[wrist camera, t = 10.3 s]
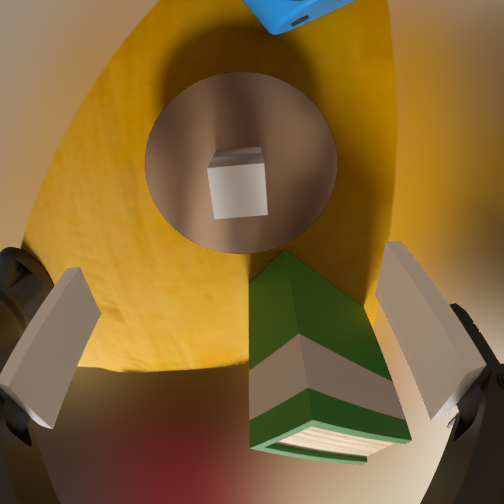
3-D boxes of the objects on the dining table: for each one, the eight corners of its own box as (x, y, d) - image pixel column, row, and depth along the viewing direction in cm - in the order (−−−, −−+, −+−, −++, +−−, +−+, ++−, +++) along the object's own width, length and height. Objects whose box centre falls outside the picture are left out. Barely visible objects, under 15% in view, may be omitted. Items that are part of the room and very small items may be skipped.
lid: (168, 254, 32) (151, 295, 26) (135, 89, 23) (101, 93, 17) (331, 241, 32) (349, 281, 25) (331, 69, 22) (359, 65, 16)
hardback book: (363, 306, 45) (412, 440, 25) (330, 333, 48) (361, 464, 28) (283, 248, 39) (312, 419, 19) (248, 284, 42) (249, 448, 22)
